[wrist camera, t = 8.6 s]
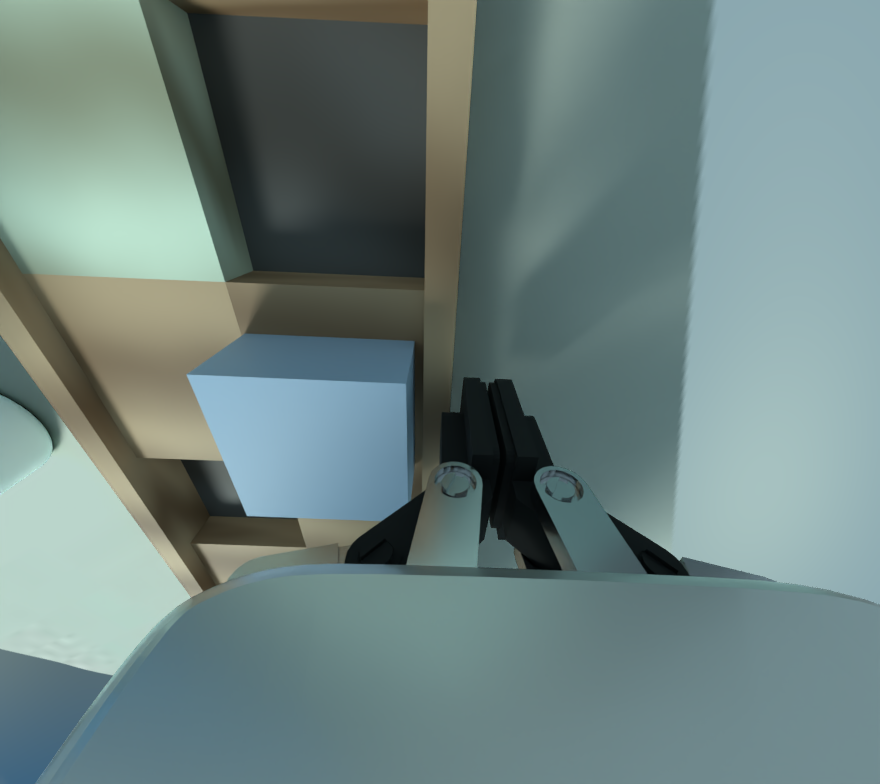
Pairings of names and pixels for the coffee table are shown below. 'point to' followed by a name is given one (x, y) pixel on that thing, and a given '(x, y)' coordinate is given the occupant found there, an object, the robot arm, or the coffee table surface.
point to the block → (313, 423)
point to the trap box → (225, 224)
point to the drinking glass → (20, 444)
